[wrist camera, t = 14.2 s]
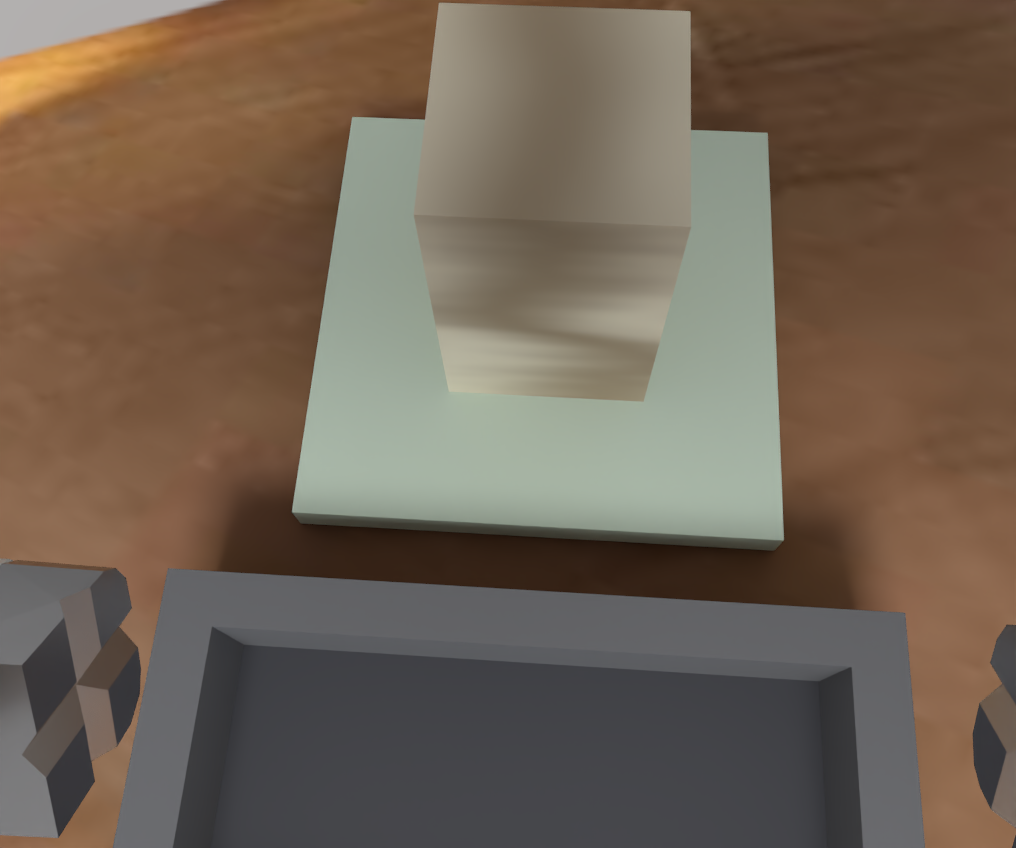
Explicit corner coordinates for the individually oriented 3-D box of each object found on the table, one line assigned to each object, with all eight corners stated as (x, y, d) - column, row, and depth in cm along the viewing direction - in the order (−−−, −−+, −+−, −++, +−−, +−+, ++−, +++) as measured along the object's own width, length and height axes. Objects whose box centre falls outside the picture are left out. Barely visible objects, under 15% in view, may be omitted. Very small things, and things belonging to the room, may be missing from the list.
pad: (759, 154, 29) (767, 132, 28) (774, 551, 24) (784, 540, 23) (357, 138, 29) (352, 116, 28) (300, 523, 25) (291, 512, 24)
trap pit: (860, 636, 23) (904, 612, 21) (894, 1130, 20) (953, 1183, 17) (210, 596, 24) (168, 568, 21) (125, 1065, 21) (61, 1106, 18)
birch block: (646, 234, 27) (690, 10, 19) (643, 401, 25) (690, 226, 17) (464, 225, 27) (439, 2, 19) (449, 391, 25) (413, 214, 18)
